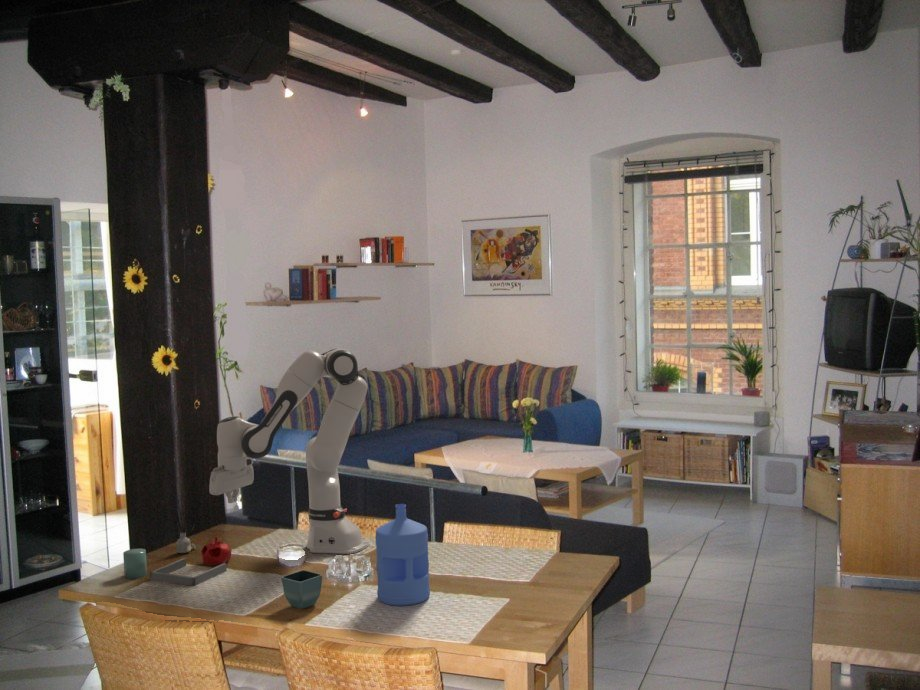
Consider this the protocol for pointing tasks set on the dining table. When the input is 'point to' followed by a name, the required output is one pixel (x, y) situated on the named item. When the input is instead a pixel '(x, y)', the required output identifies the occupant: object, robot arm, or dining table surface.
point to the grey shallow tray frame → (163, 576)
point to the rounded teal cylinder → (135, 563)
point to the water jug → (402, 561)
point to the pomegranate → (216, 553)
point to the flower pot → (302, 588)
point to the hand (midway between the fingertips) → (232, 502)
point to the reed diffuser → (183, 536)
